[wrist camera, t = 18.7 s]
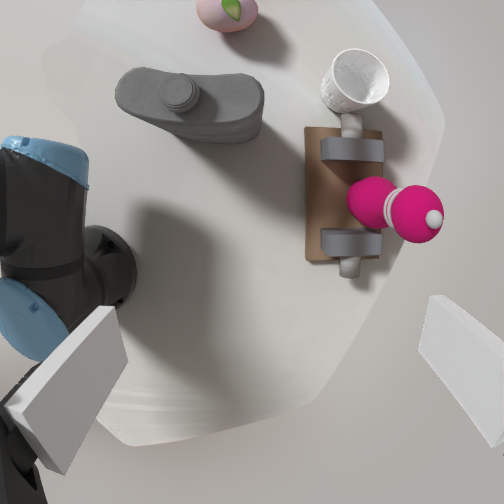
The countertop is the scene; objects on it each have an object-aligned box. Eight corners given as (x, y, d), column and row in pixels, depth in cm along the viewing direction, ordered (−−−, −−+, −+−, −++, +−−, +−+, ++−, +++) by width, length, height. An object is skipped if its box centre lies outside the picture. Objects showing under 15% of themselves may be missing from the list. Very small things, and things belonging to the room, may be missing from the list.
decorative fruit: (193, 14, 36) (180, -16, 26) (237, -5, 35) (234, -38, 25) (218, 52, 38) (209, 25, 28) (265, 32, 37) (268, 1, 27)
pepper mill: (357, 166, 41) (430, 165, 22) (393, 192, 42) (475, 209, 23) (334, 207, 43) (394, 234, 24) (371, 231, 44) (443, 271, 24)
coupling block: (304, 267, 47) (312, 281, 41) (303, 118, 41) (312, 110, 35) (374, 264, 47) (390, 277, 40) (377, 123, 41) (395, 117, 35)
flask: (159, 137, 42) (96, 116, 22) (166, 101, 40) (109, 59, 21) (256, 150, 42) (258, 131, 23) (262, 113, 41) (270, 68, 21)
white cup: (372, 103, 40) (400, 88, 30) (335, 126, 41) (357, 114, 31) (344, 63, 38) (365, 40, 29) (305, 84, 40) (319, 63, 30)
